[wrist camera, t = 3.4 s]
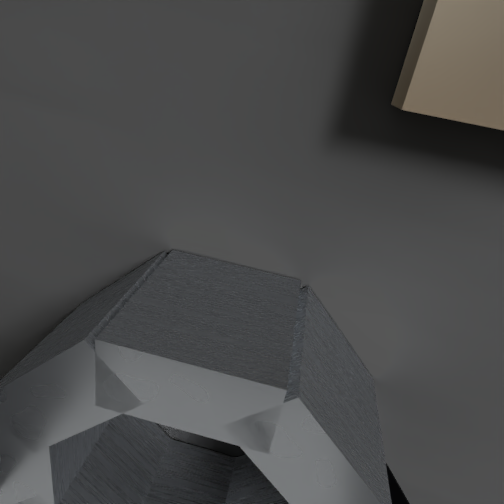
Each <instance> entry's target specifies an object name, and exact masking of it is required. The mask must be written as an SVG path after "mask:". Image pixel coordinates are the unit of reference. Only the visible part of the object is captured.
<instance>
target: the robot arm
mask: <svg viewBox="0 0 504 504" xmlns="http://www.w3.org/2000/svg"><path fill="white" fill-rule="evenodd" d="M386 468H387V475H388V482H389V489H390V495H391V502H392V504H409V502H408V500H407V498H406V497H405V495H404V493H403V491H402V490H401V488H400V486H399V484H398V483H397V481H396V479H395V477H394V476H393V474H392V472H391V470H390V469H389V467H388V465H387V464H386Z"/></svg>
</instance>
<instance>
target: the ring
mask: <svg viewBox="0 0 504 504" xmlns="http://www.w3.org/2000/svg"><path fill="white" fill-rule="evenodd" d="M300 284H301V280H296V279H292V278H288V277H284V276H280V275H276V274H272V273H268V272H263V271H259V270H255V269H251V268H247V267H243V266H239V265H234V264H230V263H226V262H222V261H218V260H214V259H210V258H205V257H201V256H197V255H193V254H189V253H185V252H181V251H176V250H172V251H171V252H170V253H169V255H168V254H167V253H166V252H165V251H163V252H162V253H160V254H159V255H157V256H156V257H154V258H152V259H151V260H149V261H148V262H146V263H145V264H143V265H141V266H140V267H138V268H137V269H135V270H134V271H132V272H130V273H129V274H127V275H126V276H124V277H123V278H121V279H119V280H118V281H116V282H115V283H113V284H112V285H110V286H108V287H107V288H105V289H104V290H102V291H101V292H99V293H97V294H96V295H94V296H93V297H91V298H90V299H88V300H86V301H85V302H83V303H82V304H80V305H79V306H78V307H77V308H76V309H75V310H74V311H73V312H72V313H71V314H70V315H69V316H68V317H67V318H66V319H64V320H63V321H62V322H61V323H60V324H59V325H58V326H57V327H56V328H55V329H54V330H53V331H52V332H51V333H50V334H49V335H48V336H46V337H45V338H44V339H43V340H42V341H41V342H40V343H39V344H38V345H37V346H36V347H35V348H34V349H33V350H32V351H31V352H30V353H28V354H27V355H26V356H25V357H24V358H23V359H22V360H21V361H20V362H19V363H18V364H17V365H16V366H15V367H14V368H13V369H11V370H10V371H9V372H8V373H7V374H6V375H5V376H4V377H3V378H2V379H1V380H0V504H392V502H391V495H390V489H389V482H388V475H387V468H386V462H385V455H384V448H383V441H382V435H381V428H380V421H379V414H378V408H377V401H376V394H375V387H374V381H373V378H372V377H371V375H370V374H369V373H368V371H367V370H366V368H365V367H364V365H363V364H362V362H361V361H360V360H359V358H358V357H357V355H356V354H355V352H354V351H353V349H352V348H351V347H350V345H349V344H348V342H347V341H346V339H345V338H344V336H343V335H342V333H341V332H340V331H339V329H338V328H337V326H336V325H335V323H334V322H333V320H332V319H331V318H330V316H329V315H328V313H327V312H326V310H325V309H324V307H323V306H322V305H321V303H320V302H319V300H318V299H317V297H316V296H315V294H314V293H313V291H312V290H311V289H310V287H309V286H306V287H304V288H302V289H300ZM156 423H159V424H162V425H166V426H169V427H173V428H176V429H180V430H183V431H187V432H191V433H194V434H198V435H201V436H205V437H208V438H212V439H216V440H219V441H223V442H226V443H230V444H233V445H237V446H240V448H241V449H242V450H243V451H244V452H245V453H246V454H245V455H242V456H239V457H232V456H229V455H225V454H222V453H218V452H215V451H211V450H208V449H204V448H200V447H197V446H193V445H190V444H186V443H183V442H179V441H176V440H172V439H170V437H169V436H168V435H167V434H166V433H165V432H164V431H163V430H162V429H161V428H160V427H159V426H158V425H157V424H156Z"/></svg>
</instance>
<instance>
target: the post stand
mask: <svg viewBox="0 0 504 504" xmlns="http://www.w3.org/2000/svg"><path fill="white" fill-rule="evenodd" d="M391 105H393V106H395V107H397V108H399V109H401V110H405V111H410V112H415V113H420V114H425V115H430V116H435V117H440V118H445V119H450V120H455V121H460V122H465V123H470V124H475V125H479V126H484V127H489V128H494V129H499V130H504V0H424V1H423V4H422V8H421V11H420V14H419V17H418V20H417V23H416V27H415V30H414V33H413V36H412V39H411V42H410V46H409V49H408V52H407V55H406V58H405V61H404V65H403V68H402V71H401V74H400V77H399V80H398V84H397V87H396V90H395V93H394V96H393V99H392V103H391Z"/></svg>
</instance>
